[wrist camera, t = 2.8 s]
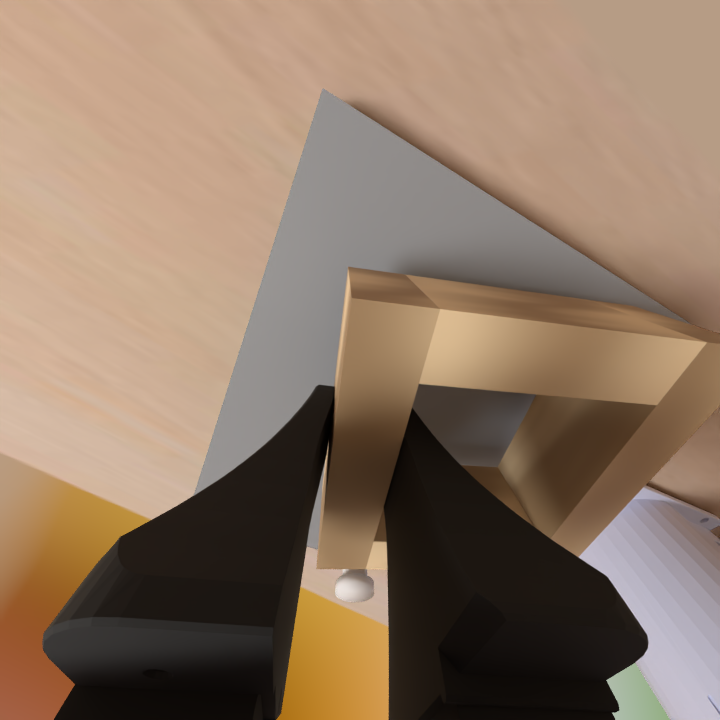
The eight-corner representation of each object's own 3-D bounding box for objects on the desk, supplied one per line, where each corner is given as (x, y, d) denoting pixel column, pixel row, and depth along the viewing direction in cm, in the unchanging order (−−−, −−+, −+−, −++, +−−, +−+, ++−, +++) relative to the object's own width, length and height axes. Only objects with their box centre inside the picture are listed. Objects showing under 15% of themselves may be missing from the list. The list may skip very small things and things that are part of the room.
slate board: (687, 330, 13) (899, 405, 8) (427, 561, 22) (447, 663, 17) (327, 103, 9) (286, -36, 4) (197, 497, 18) (137, 602, 13)
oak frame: (633, 306, 10) (770, 350, 6) (517, 493, 14) (565, 570, 11) (347, 266, 8) (351, 298, 5) (322, 484, 13) (316, 569, 10)
